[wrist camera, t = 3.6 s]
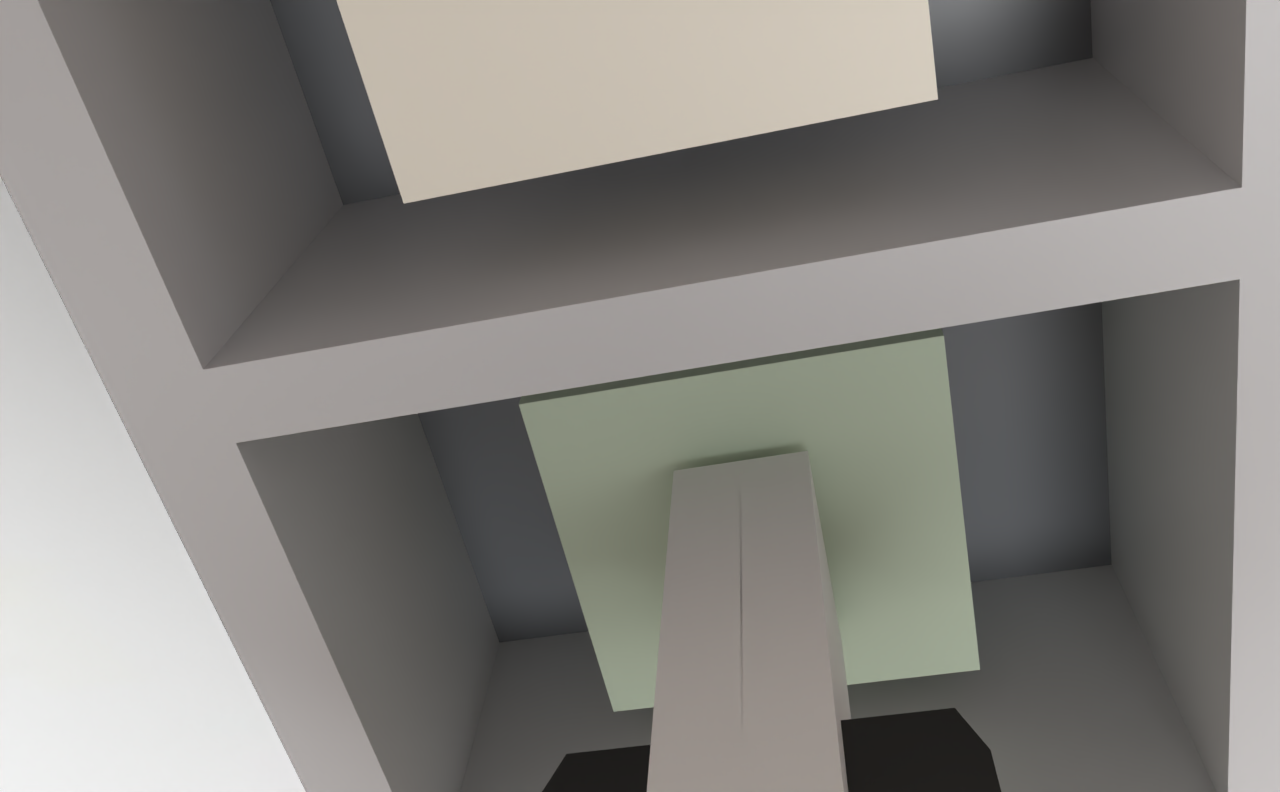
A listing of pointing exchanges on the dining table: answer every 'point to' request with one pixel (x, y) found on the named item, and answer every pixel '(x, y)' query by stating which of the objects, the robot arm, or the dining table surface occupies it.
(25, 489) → the dining table surface
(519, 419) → the grey compartment tray
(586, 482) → the key sage
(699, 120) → the key cream
